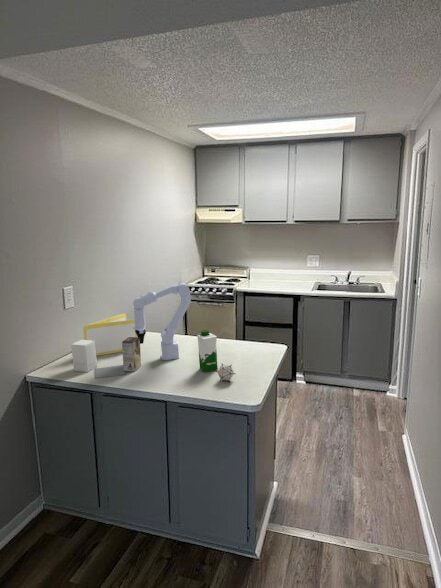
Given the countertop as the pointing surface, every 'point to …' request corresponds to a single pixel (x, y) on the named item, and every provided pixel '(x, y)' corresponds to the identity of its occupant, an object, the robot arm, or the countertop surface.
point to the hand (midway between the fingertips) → (141, 342)
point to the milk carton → (207, 351)
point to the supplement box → (84, 355)
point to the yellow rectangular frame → (110, 333)
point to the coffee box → (131, 354)
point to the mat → (109, 371)
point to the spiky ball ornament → (225, 372)
